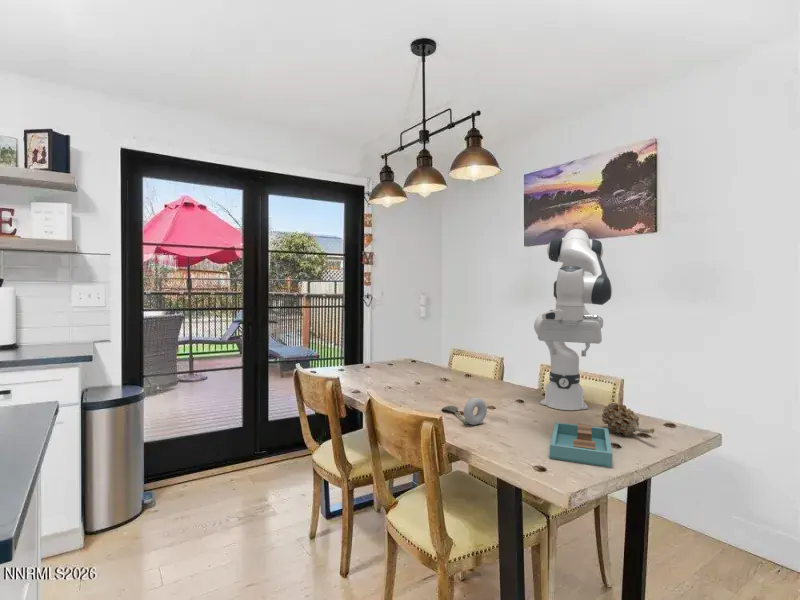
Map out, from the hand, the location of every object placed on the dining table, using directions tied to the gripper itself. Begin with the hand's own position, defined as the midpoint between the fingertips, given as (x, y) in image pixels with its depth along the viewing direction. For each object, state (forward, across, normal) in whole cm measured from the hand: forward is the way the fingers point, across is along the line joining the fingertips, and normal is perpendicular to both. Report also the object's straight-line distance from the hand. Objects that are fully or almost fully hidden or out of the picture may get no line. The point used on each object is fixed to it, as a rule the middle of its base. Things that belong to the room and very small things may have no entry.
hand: (568, 355), depth 152 cm
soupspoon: (+28, +40, -4) cm, 49 cm away
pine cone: (+28, -19, -6) cm, 34 cm away
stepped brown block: (+26, -5, +14) cm, 30 cm away
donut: (+27, +31, +3) cm, 41 cm away
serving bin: (+26, -4, +14) cm, 30 cm away
